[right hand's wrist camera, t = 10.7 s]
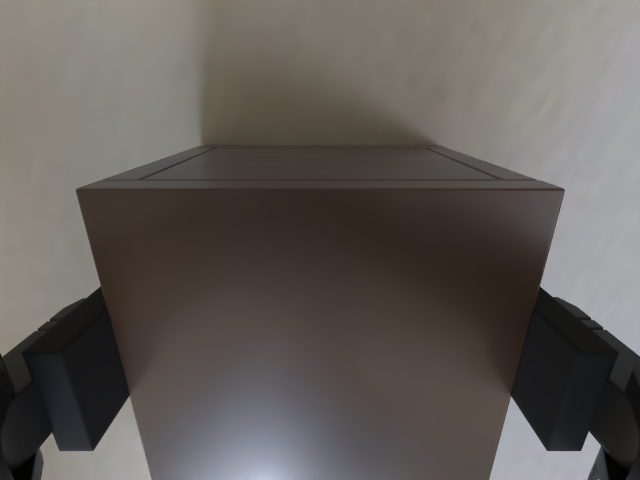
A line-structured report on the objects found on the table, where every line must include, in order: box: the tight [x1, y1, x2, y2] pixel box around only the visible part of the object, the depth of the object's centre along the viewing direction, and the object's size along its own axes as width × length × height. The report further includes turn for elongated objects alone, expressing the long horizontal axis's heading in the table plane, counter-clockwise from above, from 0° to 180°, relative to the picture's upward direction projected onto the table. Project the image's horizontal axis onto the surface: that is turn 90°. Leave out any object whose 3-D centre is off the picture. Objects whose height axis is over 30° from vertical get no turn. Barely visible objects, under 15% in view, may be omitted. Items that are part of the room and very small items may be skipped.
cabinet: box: [76, 146, 565, 480], centre depth 14 cm, size 16×10×8 cm, turn 0°
